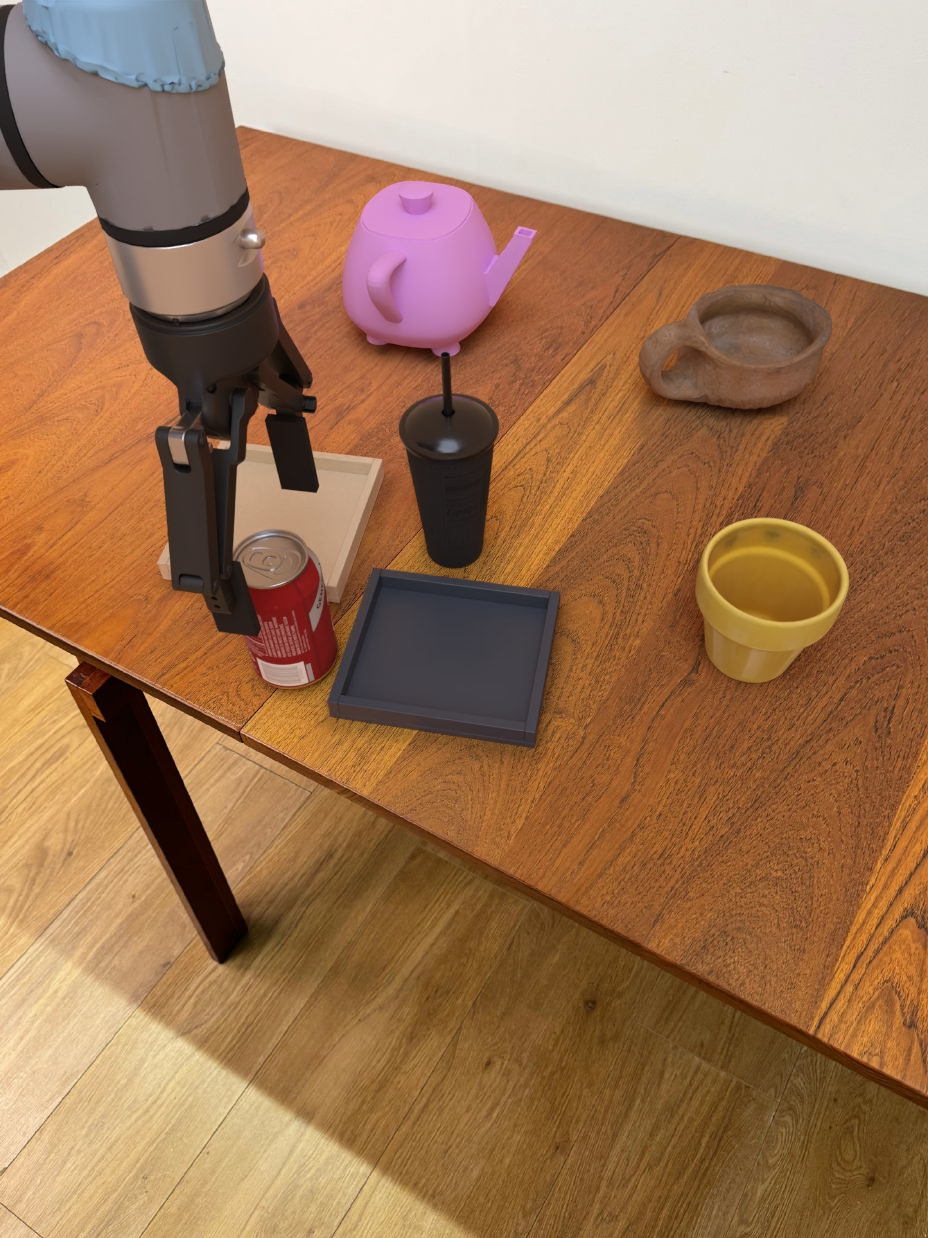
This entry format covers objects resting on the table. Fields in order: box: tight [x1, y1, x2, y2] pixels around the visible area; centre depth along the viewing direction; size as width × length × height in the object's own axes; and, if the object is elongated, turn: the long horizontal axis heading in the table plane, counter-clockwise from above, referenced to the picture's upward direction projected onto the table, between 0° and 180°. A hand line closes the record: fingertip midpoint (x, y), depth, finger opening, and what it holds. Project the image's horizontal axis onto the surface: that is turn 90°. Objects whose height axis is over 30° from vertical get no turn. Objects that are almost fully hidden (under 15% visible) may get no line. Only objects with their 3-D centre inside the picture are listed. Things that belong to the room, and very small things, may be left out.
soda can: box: [233, 529, 339, 690], centre depth 74 cm, size 7×7×12 cm
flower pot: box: [694, 517, 850, 684], centre depth 75 cm, size 10×10×10 cm
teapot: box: [341, 180, 538, 358], centre depth 100 cm, size 20×20×15 cm
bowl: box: [638, 283, 833, 410], centre depth 95 cm, size 18×14×10 cm
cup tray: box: [156, 440, 385, 604], centre depth 88 cm, size 16×16×2 cm
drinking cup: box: [398, 352, 500, 569], centre depth 78 cm, size 8×8×20 cm
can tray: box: [327, 567, 561, 749], centre depth 78 cm, size 16×14×2 cm
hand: (272, 555), depth 70 cm, fingers open, 13 cm apart
